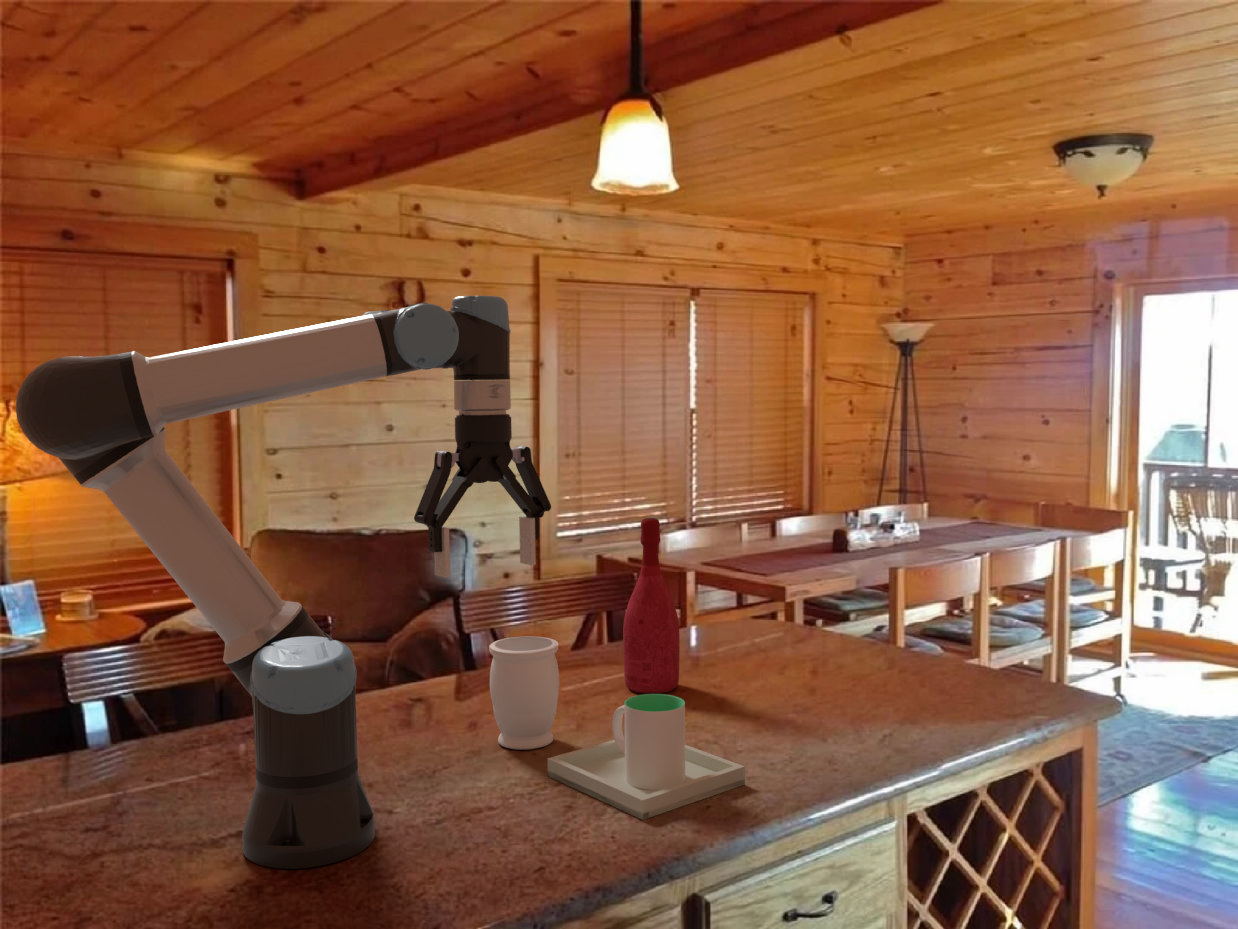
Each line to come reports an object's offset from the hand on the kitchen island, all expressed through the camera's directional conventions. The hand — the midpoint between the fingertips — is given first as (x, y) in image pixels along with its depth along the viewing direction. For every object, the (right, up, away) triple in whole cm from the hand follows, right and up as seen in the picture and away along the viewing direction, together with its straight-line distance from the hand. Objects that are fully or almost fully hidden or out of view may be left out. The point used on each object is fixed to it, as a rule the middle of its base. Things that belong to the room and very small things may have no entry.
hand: (486, 570), depth 151 cm
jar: (+4, -28, +17) cm, 33 cm away
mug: (+21, -28, 0) cm, 35 cm away
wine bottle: (+24, -25, +45) cm, 56 cm away
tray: (+21, -29, 0) cm, 36 cm away
